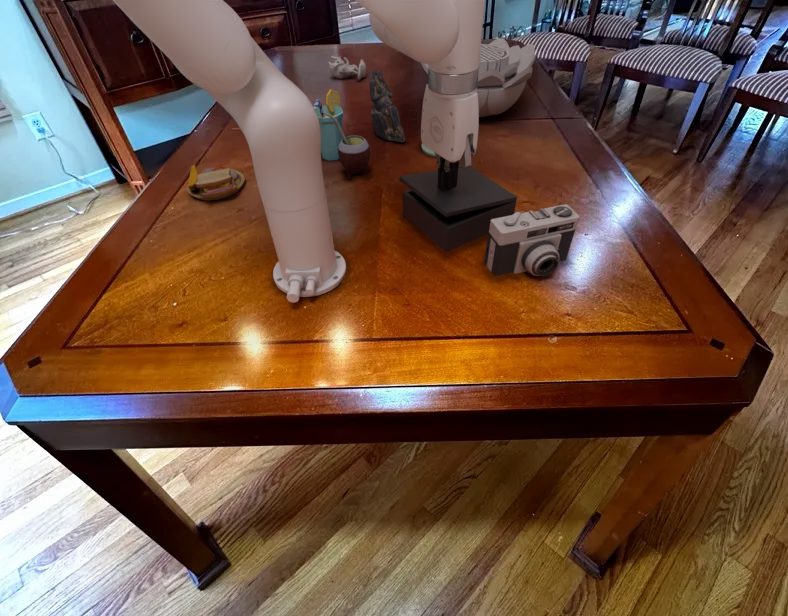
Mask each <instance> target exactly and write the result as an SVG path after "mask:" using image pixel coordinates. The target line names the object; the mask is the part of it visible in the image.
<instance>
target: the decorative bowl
mask: <svg viewBox="0 0 788 616" xmlns="http://www.w3.org/2000/svg"><path fill="white" fill-rule="evenodd" d="M535 50H536V49H535V45H534V43H529V44H526V45H524V46H522V47H520V45H517V44H516V45H513V46H511V47H510V45H509V44H508V42H507V41H506V39H504V38H502V37H499V38H496V39H494V40H493V41H491V42H489V43H488V44H487V43H481V49H480V60H479V72H478V83H477V91H476V92H477V93H478V107H479V118H484V117H490V116H493V115H500V114H503V113H505V112H506V111H508V110H509V109H510V108H511V107H512V106H514V104H515V103H516V102H517V101H518V99H519V98H520V97H521V95H522V93H523V91H524V90H525V87H526V85H527V81H528V80H529V79H530V78H532V76H533V75H532V74H533V64H534V63H535V61H536V56H537V54H535V52H536V51H535ZM420 65H421V68H423V70H424V72H425V73H426V74H427V75H428V64H425V63H420Z"/></svg>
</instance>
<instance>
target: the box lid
mask: <svg viewBox="0 0 788 616" xmlns="http://www.w3.org/2000/svg"><path fill="white" fill-rule="evenodd" d="M398 180H399V182H401V183H402V184H403V185H405V187H407V188H408V189H411V190H412V191H413V192H415V193H416V194H417V195H419V196H420V197H421V198H422V199H424V200H425V201H426V202H427V203H429V204H430V205H431V206H433V207H434V208H435V209H436V210H438V211H439V212H440V213H441V214H443V215H444V216H445V217H448V216H452V215H456V214H461V213H465V212H469V211H474V210H478V209H482V208H487V207H491V206H495V205H500V204H504V203H508V202H513V201H516V202H517V200H518V196H517V195H516V194H514V193H513V192H511V191H510V190H507V189H506V188H505V187H503V186H501V185H500V184H498V183H497V182H495V181H493V180H492V179H490V178H489V177H487V176H486V175H484V174H483V173H482V172H480V171H478V170H477V169H474V168H473V167H472V166H471V167H468V168H465V169H463V168H458V178H457V186H456V187H455V188H452V189H450V190H447V191H444V192H443V191H442V190H441V189H439V188H438V187H437V186H438V169H436V170H430V171H423V172H418V173H417V172H416V173H411V174H404V175H400V176H399V178H398Z"/></svg>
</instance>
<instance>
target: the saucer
mask: <svg viewBox="0 0 788 616" xmlns="http://www.w3.org/2000/svg"><path fill="white" fill-rule="evenodd" d="M421 150H422V152H423V153H424V154H426V155H427V156H431V157H435V158H436V155H435V153H434V151H432V150H431V149H429V148H428V147H426V146H425V145H424V144H423V143H422V142H421Z"/></svg>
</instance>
